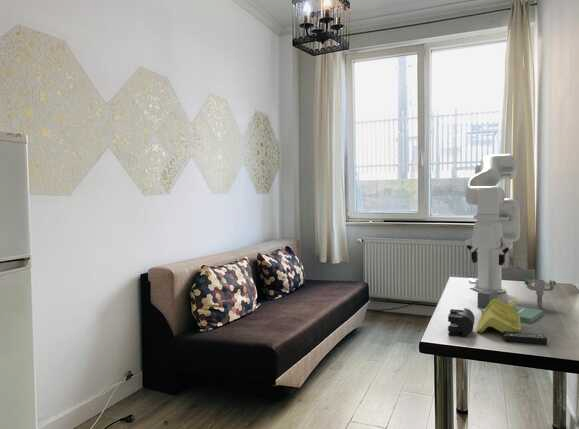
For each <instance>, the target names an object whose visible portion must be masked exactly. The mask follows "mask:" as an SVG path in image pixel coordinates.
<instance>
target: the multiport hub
mask: <svg viewBox="0 0 579 429" xmlns="http://www.w3.org/2000/svg"><path fill="white" fill-rule="evenodd" d="M501 333H502V335H501V336H502V340H503V342H504V343H508V344H511V343H512V344H522V345H523V344H525V345H534V346H536V345H538V346H548V338H547V336H546V335H544V334H543V333H533V332H522V331H521V332H520V331H519V332H506V331H503V332H501Z"/></svg>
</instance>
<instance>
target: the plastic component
mask: <svg viewBox="0 0 579 429" xmlns="http://www.w3.org/2000/svg"><path fill="white" fill-rule="evenodd" d="M484 309H485V308H484ZM521 326H522V325H521V321H520V315H519V313H518V312H517V311H516V310H515V309H514V308H512V307H511V306H509V305H508V304H507V303H505V302H504V301H501V300H499V299H498V298H497V299H492V300H491V301H490V303H489V304H488V306H487V307H486V309H485V310H484V312H483V314H482V315H480V318H479V320H478V322H477V328H476V332H477V333H480V334H482V333H483V332H485V330H486V329H487V328H489V327H491V328H493V329H495V330H497V331H499V332H500V333H502V332H503V331H506V332H520V331H521V330H522V327H521Z"/></svg>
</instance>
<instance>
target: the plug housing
mask: <svg viewBox="0 0 579 429" xmlns="http://www.w3.org/2000/svg"><path fill="white" fill-rule="evenodd" d="M497 295H498V293H497V290H489V289H485V290H482V291H477V307H478V308H480V309H481V308H482V309H485V308H486V307H487V306H488V304H489V303H490V301H491V300H492V299H498V298H497Z"/></svg>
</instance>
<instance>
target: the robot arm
mask: <svg viewBox="0 0 579 429" xmlns="http://www.w3.org/2000/svg"><path fill="white" fill-rule="evenodd" d="M474 167H475V168H474V176H472V177H471V178H470V179H468V181H467V183H466V187H465V195H464V196H465V197H464V198H465V199H464V200H465V202H466V203H467V205H470V206H477V211H476V215H474V216H473V219H474V220H476V221H475V222H474V226H473V230H472V237H470V238H468V239H466V240H464V243H465V245H466V248H467V249H468V250H469V252H470V253H471V261H472V264H475V263H477V278H476V279H474V278H469V279H468V283H469V285H470V284H473V285H474V286H473V289H474V290H475V291H477V292H480V291H482V290H485V289H489V290H497V294H500V293H505V292H506V288H505V287H503V286H502V271H503V270H502V269H503V268H502V266H503V265H504V264H505V262H506V259H505V258H506V254H507V253H508V252H510V250H511V249H512V247H513V245H514V244H513V243H512V242H516V241H518V240H519V239H520V238H521V210H520V208H521V207H520V203H519V201H518V200H517V199H515V198H506V192H505V190H504V189H503V188H502V187H501V186H500V185H498V184H499V183H500V182H501V181H502V180H503V181H504V180H508V181H509V180H513V179H514V178H516V176H517V173H518V172H517V171H518V161H517V157H516V156H515V155H514V154H511V153H501V154H498V153H497V154H489V155H484V157H482V158H481V159H480V163H477V164H476V165H475V166H474ZM497 185H498V186H497ZM471 242H472V244H471ZM504 244H505V245H506V247H505V248H503V247H504Z"/></svg>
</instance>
